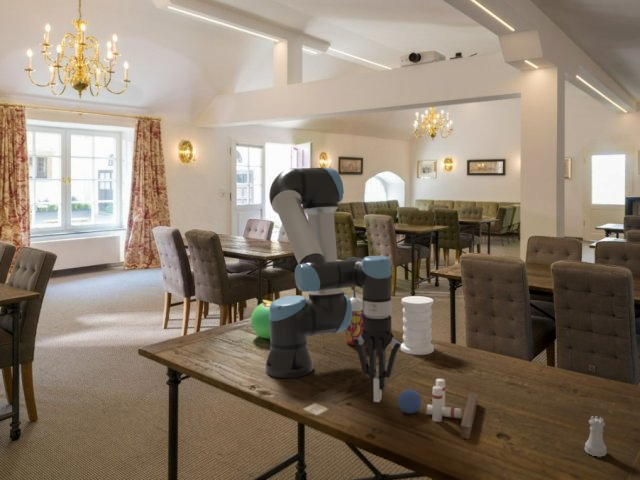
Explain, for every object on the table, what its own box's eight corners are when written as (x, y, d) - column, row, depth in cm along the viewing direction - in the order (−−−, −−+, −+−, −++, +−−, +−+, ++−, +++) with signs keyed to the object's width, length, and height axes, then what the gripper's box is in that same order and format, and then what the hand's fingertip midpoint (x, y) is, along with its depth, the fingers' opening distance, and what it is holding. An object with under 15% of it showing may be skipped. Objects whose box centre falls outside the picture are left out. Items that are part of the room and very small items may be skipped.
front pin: (426, 406, 139) (460, 410, 136) (428, 403, 142) (461, 407, 138) (426, 415, 139) (460, 420, 136) (428, 412, 142) (461, 416, 139)
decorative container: (434, 344, 194) (434, 296, 192) (433, 355, 183) (433, 304, 181) (401, 343, 197) (401, 295, 195) (399, 353, 186) (399, 303, 183)
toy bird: (251, 331, 215) (250, 295, 213) (294, 329, 217) (293, 293, 215) (251, 346, 198) (249, 307, 196) (296, 343, 199) (295, 304, 197)
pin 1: (434, 412, 141) (434, 381, 140) (436, 408, 143) (436, 378, 142) (444, 414, 140) (444, 382, 139) (445, 410, 142) (446, 379, 141)
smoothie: (342, 339, 202) (341, 287, 200) (364, 338, 203) (363, 287, 200) (345, 347, 194) (344, 292, 191) (368, 346, 195) (367, 292, 192)
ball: (422, 405, 137) (410, 422, 139) (427, 395, 142) (416, 411, 144) (402, 390, 138) (391, 407, 140) (408, 381, 144) (397, 397, 146)
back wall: (460, 437, 128) (460, 425, 127) (469, 403, 146) (469, 392, 146) (469, 439, 127) (469, 427, 127) (477, 404, 145) (477, 393, 145)
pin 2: (431, 421, 136) (431, 389, 135) (433, 416, 139) (433, 385, 138) (441, 422, 135) (441, 390, 134) (442, 418, 138) (443, 386, 137)
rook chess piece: (586, 445, 123) (587, 412, 122) (607, 451, 121) (609, 417, 119) (582, 454, 119) (584, 420, 118) (605, 460, 117) (607, 425, 116)
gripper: (349, 316, 141) (350, 402, 144) (398, 320, 136) (398, 409, 139) (357, 309, 148) (358, 391, 151) (404, 313, 143) (404, 397, 146)
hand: (377, 399), depth 145 cm, fingers closed
